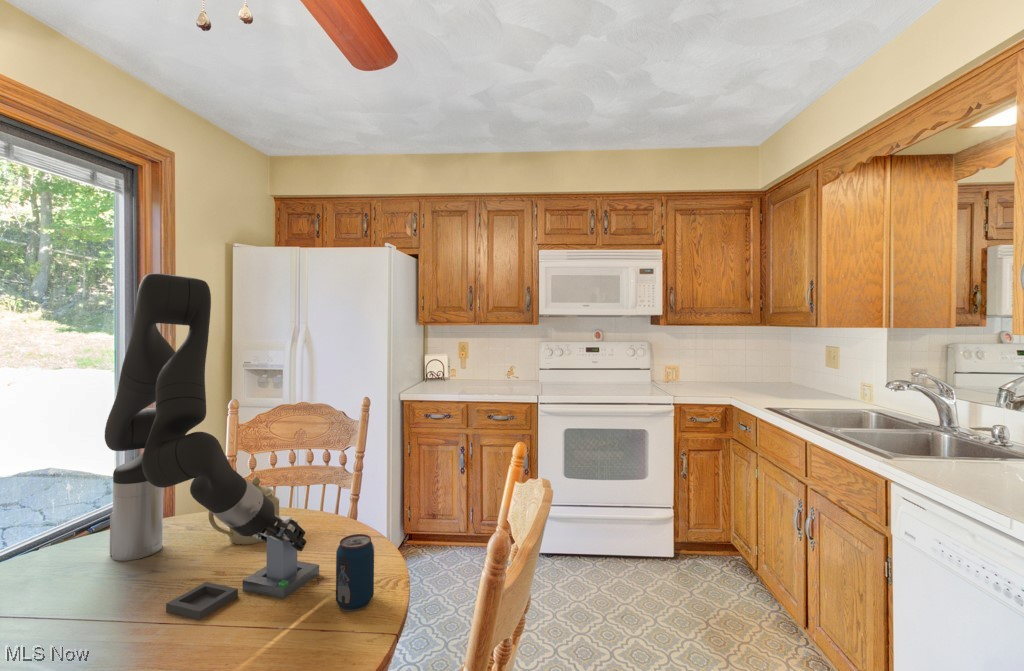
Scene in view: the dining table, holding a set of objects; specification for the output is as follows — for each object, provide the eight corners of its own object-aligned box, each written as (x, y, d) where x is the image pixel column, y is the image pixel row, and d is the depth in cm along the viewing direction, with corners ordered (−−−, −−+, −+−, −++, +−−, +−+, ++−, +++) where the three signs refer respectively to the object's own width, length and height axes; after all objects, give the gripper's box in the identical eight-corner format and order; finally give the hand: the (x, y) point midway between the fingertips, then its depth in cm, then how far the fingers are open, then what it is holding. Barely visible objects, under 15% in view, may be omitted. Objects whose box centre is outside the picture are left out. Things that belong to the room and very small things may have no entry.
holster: (165, 614, 86) (166, 603, 86) (205, 591, 94) (206, 581, 94) (199, 622, 84) (199, 611, 84) (237, 599, 91) (237, 588, 91)
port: (242, 592, 94) (242, 577, 94) (280, 569, 103) (280, 554, 103) (283, 601, 91) (283, 585, 91) (319, 576, 100) (319, 561, 100)
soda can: (374, 591, 95) (375, 531, 95) (372, 611, 88) (372, 546, 88) (338, 594, 94) (339, 534, 94) (332, 615, 87) (333, 549, 87)
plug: (266, 585, 96) (267, 521, 96) (281, 575, 99) (282, 514, 99) (282, 588, 94) (283, 523, 94) (297, 578, 98) (297, 516, 98)
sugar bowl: (243, 554, 110) (244, 490, 110) (204, 548, 112) (205, 485, 112) (288, 529, 124) (289, 472, 124) (253, 524, 127) (254, 468, 127)
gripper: (285, 491, 88) (326, 530, 99) (224, 483, 92) (270, 521, 103) (262, 531, 83) (308, 567, 94) (199, 521, 87) (250, 557, 98)
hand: (288, 543), depth 99 cm, fingers open, 6 cm apart
